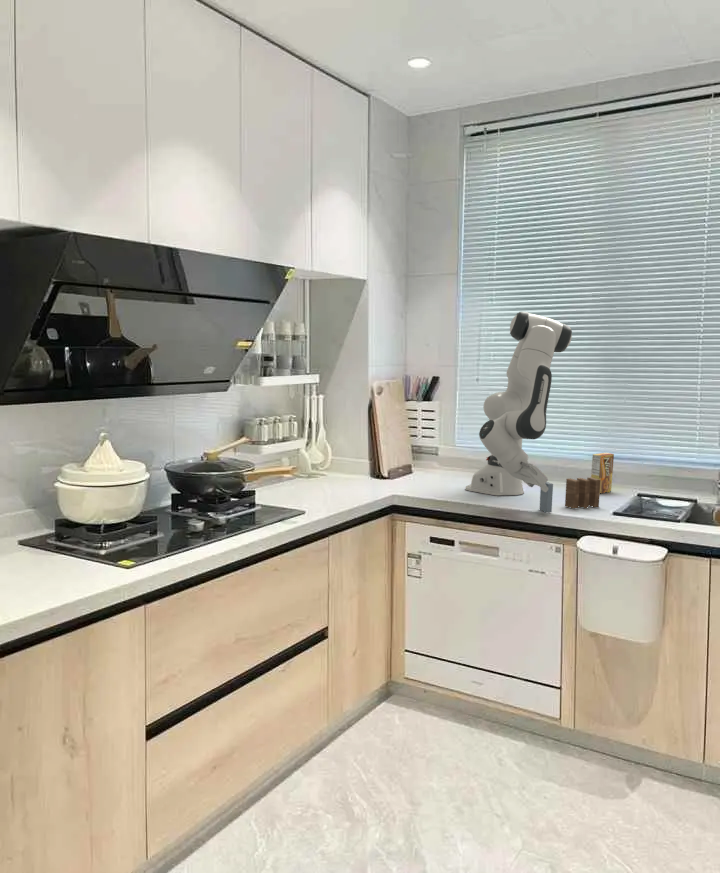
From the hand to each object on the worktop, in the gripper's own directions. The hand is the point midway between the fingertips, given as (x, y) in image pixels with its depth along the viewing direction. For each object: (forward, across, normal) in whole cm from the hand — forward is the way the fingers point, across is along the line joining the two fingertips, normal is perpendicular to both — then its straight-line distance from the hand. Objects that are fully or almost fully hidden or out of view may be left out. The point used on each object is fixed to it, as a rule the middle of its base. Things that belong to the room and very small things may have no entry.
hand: (539, 488), depth 270 cm
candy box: (+37, +28, -25) cm, 52 cm away
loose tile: (+8, 0, +4) cm, 9 cm away
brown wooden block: (+23, +5, -11) cm, 26 cm away
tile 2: (+17, +4, -5) cm, 18 cm away
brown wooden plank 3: (+20, +4, -8) cm, 22 cm away
